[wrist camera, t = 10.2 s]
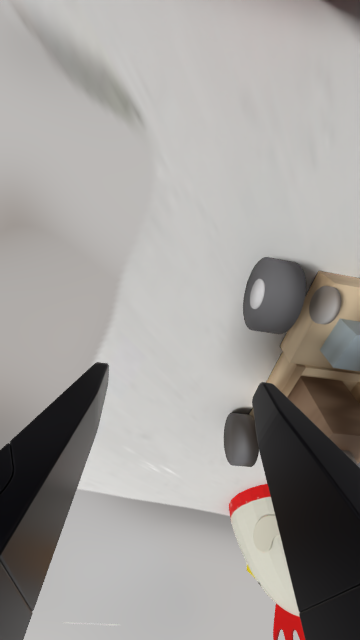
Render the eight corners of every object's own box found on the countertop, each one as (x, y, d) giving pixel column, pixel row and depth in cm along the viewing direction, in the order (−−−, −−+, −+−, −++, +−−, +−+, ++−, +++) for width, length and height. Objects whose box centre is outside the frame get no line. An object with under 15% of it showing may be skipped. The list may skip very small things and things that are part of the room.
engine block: (341, 380, 24) (393, 448, 19) (313, 418, 28) (349, 486, 22) (299, 375, 24) (338, 443, 18) (275, 414, 27) (301, 482, 21)
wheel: (284, 252, 17) (317, 280, 13) (259, 310, 20) (281, 348, 16) (258, 247, 17) (284, 274, 13) (237, 306, 20) (253, 345, 16)
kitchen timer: (217, 494, 38) (238, 660, 25) (309, 473, 35) (384, 649, 23) (242, 525, 45) (269, 668, 33) (321, 510, 42) (383, 660, 30)
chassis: (470, 286, 19) (552, 322, 15) (333, 439, 31) (359, 484, 26) (301, 254, 18) (340, 284, 14) (221, 428, 29) (229, 474, 25)
